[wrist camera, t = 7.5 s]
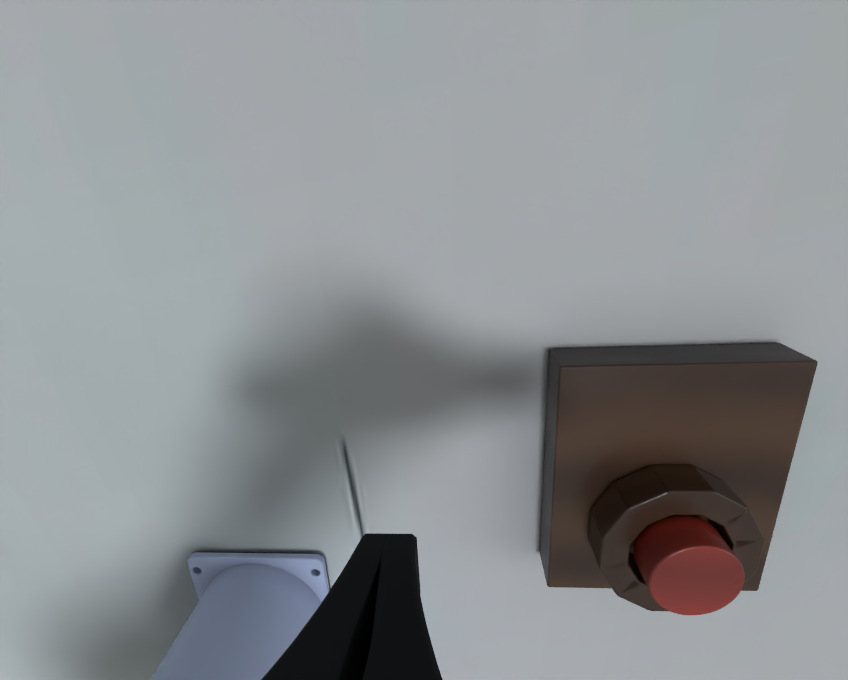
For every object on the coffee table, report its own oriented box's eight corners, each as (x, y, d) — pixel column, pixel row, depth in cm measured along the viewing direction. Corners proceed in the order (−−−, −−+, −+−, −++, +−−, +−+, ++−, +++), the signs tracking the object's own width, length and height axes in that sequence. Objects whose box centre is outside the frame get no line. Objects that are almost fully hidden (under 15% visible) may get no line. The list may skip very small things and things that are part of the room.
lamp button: (712, 580, 19) (736, 617, 18) (628, 579, 20) (644, 615, 18) (727, 514, 18) (754, 547, 17) (637, 514, 19) (655, 545, 17)
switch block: (731, 555, 23) (784, 627, 20) (539, 553, 24) (555, 621, 20) (780, 342, 19) (858, 380, 16) (548, 347, 20) (570, 385, 16)
